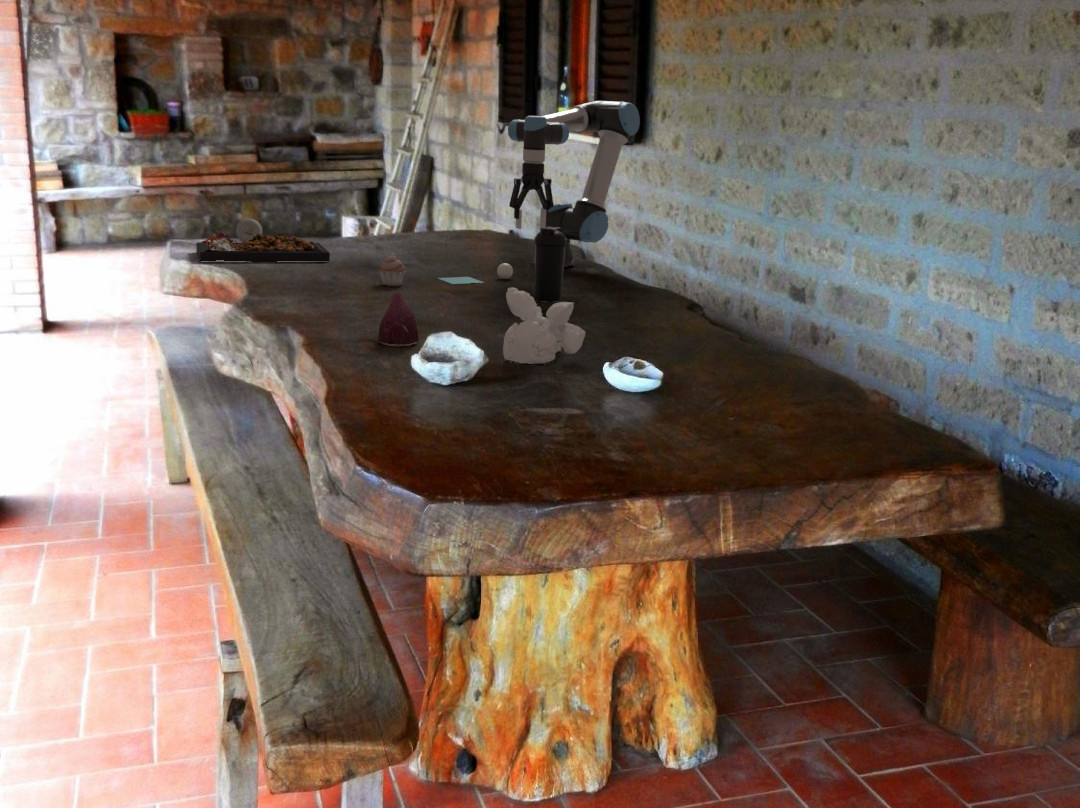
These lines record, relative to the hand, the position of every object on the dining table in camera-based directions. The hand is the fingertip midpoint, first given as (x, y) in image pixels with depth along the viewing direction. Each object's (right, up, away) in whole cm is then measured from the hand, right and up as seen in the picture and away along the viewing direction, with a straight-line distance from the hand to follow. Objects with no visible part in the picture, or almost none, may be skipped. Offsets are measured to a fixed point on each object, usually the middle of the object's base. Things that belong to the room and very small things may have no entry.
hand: (530, 228), depth 399 cm
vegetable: (-33, -46, -105) cm, 119 cm away
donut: (-111, +2, +52) cm, 123 cm away
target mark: (-24, -19, -8) cm, 32 cm away
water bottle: (+6, -29, -36) cm, 46 cm away
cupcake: (-45, -22, -23) cm, 55 cm away
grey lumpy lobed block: (+4, -50, -114) cm, 125 cm away
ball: (-9, -15, -1) cm, 17 cm away
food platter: (-98, -9, +21) cm, 101 cm away
